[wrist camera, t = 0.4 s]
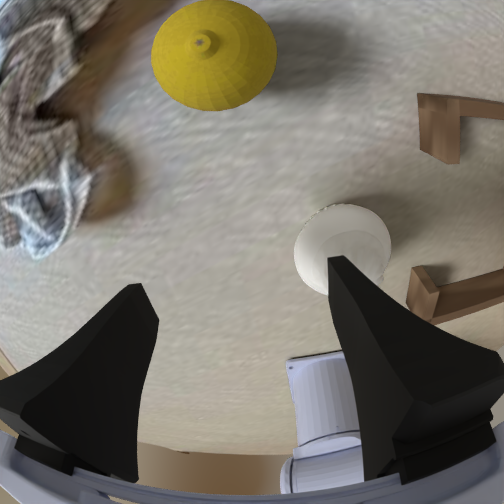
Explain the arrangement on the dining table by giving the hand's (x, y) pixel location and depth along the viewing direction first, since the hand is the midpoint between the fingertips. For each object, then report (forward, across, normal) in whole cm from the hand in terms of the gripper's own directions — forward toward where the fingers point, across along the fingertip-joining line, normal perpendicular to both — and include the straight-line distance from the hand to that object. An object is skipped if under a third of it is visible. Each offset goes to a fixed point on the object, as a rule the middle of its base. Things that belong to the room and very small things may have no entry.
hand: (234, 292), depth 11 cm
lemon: (+10, 0, -9) cm, 13 cm away
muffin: (+10, -6, +3) cm, 12 cm away
